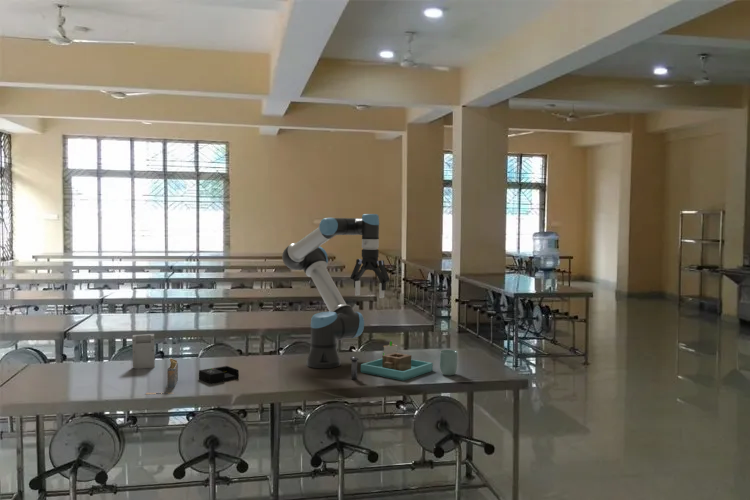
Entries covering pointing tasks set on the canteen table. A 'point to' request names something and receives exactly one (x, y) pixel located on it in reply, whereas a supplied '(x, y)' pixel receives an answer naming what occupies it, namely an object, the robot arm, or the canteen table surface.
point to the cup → (448, 362)
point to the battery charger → (218, 374)
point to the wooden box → (396, 361)
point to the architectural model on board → (171, 375)
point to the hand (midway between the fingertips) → (369, 296)
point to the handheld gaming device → (143, 351)
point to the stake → (354, 367)
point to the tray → (415, 370)
